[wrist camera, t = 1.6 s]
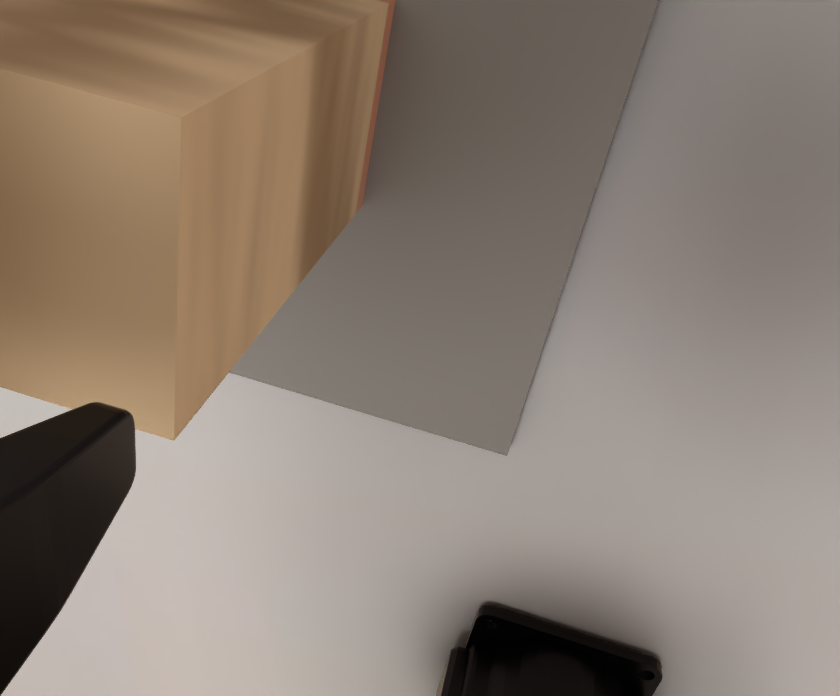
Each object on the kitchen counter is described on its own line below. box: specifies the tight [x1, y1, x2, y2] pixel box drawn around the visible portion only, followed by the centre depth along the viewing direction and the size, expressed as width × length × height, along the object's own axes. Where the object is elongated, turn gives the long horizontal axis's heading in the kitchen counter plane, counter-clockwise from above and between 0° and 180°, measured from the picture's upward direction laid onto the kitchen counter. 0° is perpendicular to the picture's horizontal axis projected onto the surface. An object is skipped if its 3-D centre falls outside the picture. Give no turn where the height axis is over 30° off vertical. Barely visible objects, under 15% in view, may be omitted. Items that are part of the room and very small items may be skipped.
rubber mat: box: [229, 0, 659, 456], centre depth 19 cm, size 22×18×2 cm
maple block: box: [0, 0, 395, 441], centre depth 15 cm, size 5×5×10 cm
